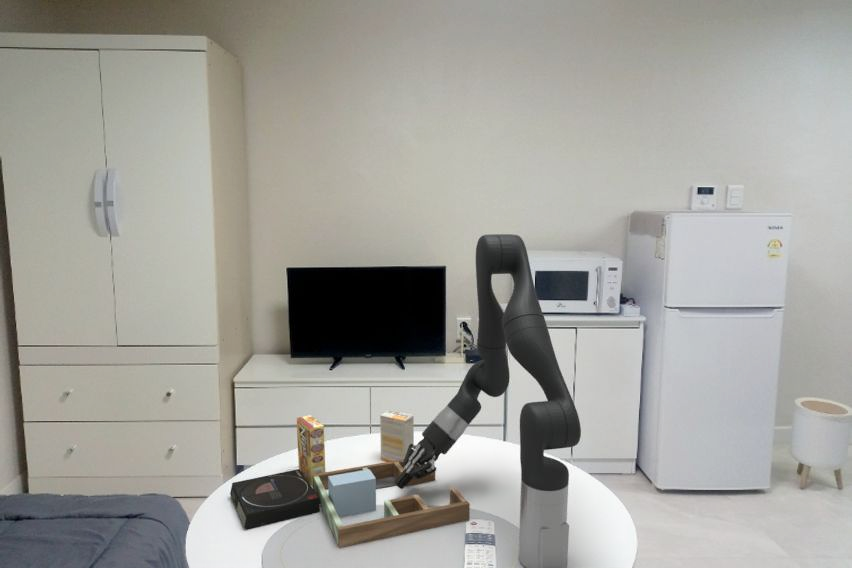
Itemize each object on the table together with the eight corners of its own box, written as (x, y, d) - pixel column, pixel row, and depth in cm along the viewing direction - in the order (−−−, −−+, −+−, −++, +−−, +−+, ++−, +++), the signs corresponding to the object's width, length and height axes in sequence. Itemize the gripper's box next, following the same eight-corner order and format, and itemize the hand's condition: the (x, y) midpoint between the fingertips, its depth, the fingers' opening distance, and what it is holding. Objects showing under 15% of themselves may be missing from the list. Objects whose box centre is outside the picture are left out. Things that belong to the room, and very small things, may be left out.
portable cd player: (230, 498, 150) (229, 483, 150) (299, 483, 158) (299, 468, 158) (244, 532, 136) (243, 515, 135) (319, 513, 144) (319, 497, 143)
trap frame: (469, 519, 141) (469, 503, 140) (339, 547, 130) (339, 530, 129) (425, 469, 165) (425, 455, 165) (312, 489, 154) (312, 474, 153)
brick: (376, 510, 145) (375, 478, 143) (333, 518, 141) (333, 485, 140) (369, 500, 149) (369, 469, 148) (328, 508, 146) (328, 476, 144)
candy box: (326, 482, 158) (325, 425, 155) (310, 487, 155) (309, 428, 153) (312, 469, 165) (311, 414, 163) (297, 473, 163) (295, 417, 160)
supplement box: (414, 460, 171) (414, 414, 169) (404, 467, 167) (404, 420, 165) (390, 453, 175) (389, 409, 173) (379, 459, 171) (379, 414, 169)
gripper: (424, 411, 156) (378, 466, 153) (446, 430, 143) (396, 490, 141) (444, 428, 158) (398, 482, 156) (467, 449, 146) (418, 507, 144)
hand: (398, 486), depth 148 cm, fingers closed
